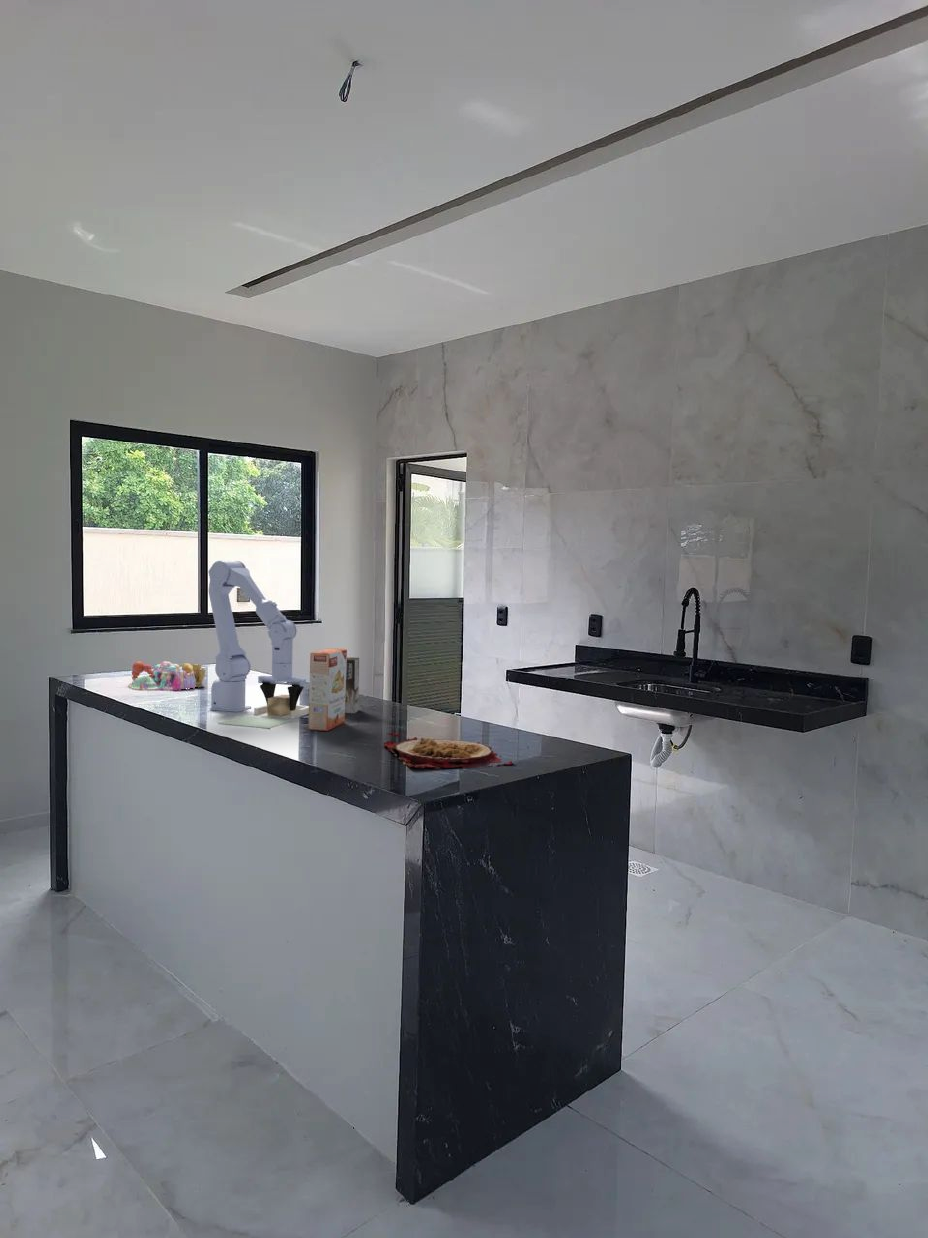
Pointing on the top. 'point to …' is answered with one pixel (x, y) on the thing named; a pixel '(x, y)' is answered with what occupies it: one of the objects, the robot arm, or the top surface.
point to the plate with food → (442, 753)
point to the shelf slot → (294, 714)
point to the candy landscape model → (167, 676)
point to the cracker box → (327, 689)
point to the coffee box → (352, 685)
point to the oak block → (279, 706)
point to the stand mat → (254, 722)
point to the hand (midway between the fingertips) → (281, 709)
